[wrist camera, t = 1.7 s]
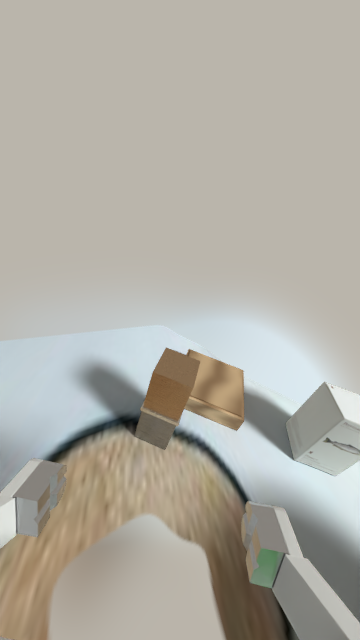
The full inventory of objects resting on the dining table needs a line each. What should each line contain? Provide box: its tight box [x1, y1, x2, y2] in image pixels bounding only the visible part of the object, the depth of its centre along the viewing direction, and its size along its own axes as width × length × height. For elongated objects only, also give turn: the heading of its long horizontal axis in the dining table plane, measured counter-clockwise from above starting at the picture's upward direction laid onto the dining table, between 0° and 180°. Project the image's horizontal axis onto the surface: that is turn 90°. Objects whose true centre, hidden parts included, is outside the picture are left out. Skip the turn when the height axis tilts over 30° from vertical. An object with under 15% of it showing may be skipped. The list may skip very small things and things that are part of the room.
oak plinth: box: [184, 349, 244, 431], centre depth 42 cm, size 13×13×3 cm
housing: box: [135, 348, 201, 450], centre depth 30 cm, size 5×5×14 cm
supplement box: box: [286, 382, 360, 476], centre depth 35 cm, size 7×7×13 cm
